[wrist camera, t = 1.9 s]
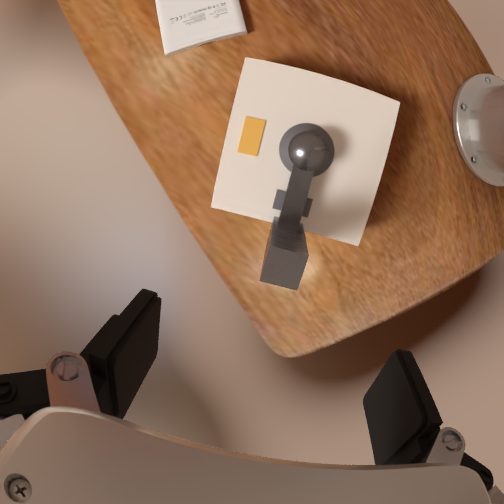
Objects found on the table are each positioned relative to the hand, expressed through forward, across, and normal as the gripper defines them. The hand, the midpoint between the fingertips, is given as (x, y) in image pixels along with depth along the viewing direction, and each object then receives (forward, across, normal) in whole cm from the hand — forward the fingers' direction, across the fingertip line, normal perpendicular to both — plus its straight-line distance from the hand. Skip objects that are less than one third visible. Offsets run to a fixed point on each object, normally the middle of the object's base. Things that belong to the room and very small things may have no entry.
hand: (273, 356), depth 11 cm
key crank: (+15, 0, -4) cm, 15 cm away
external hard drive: (+20, +14, -21) cm, 32 cm away
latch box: (+19, 0, -7) cm, 21 cm away
